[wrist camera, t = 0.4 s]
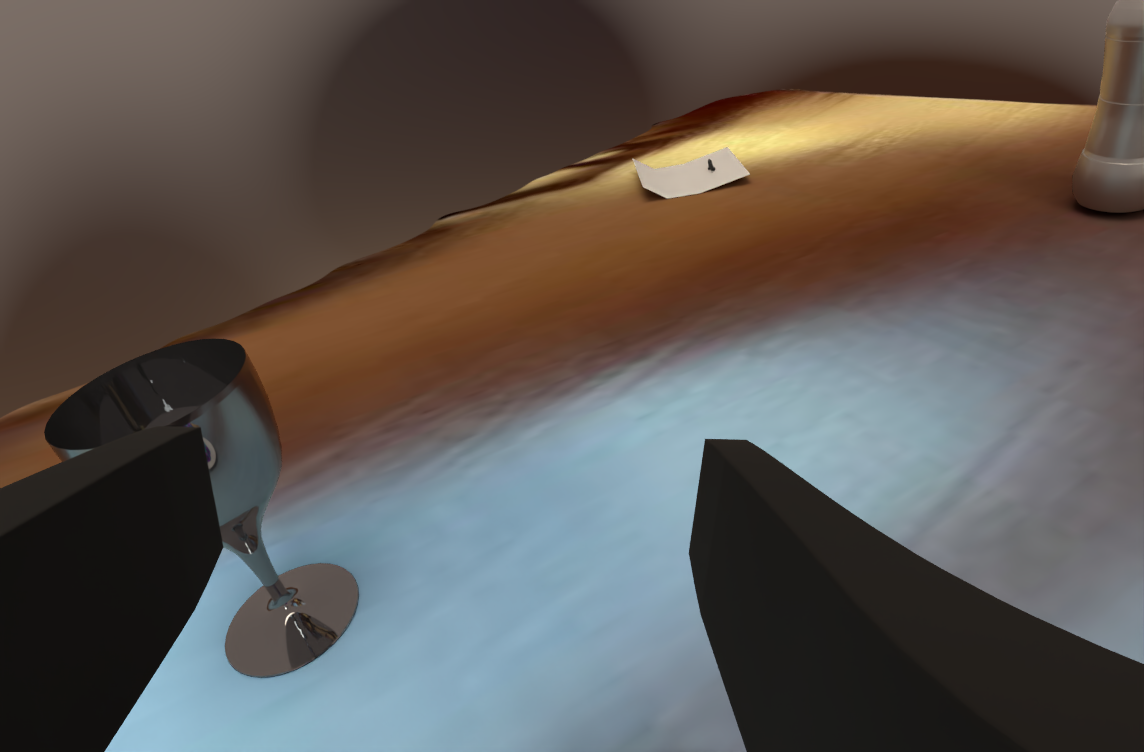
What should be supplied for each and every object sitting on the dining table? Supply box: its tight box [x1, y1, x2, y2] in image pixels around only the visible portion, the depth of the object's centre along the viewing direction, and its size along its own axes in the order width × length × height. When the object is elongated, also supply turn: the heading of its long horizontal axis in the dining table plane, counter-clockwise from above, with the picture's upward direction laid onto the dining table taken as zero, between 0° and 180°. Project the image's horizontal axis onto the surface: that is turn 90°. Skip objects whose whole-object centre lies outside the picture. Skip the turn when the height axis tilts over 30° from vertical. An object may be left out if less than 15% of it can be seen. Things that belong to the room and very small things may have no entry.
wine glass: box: [44, 339, 359, 678], centre depth 33 cm, size 8×8×15 cm
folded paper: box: [633, 147, 750, 199], centre depth 83 cm, size 12×12×2 cm
